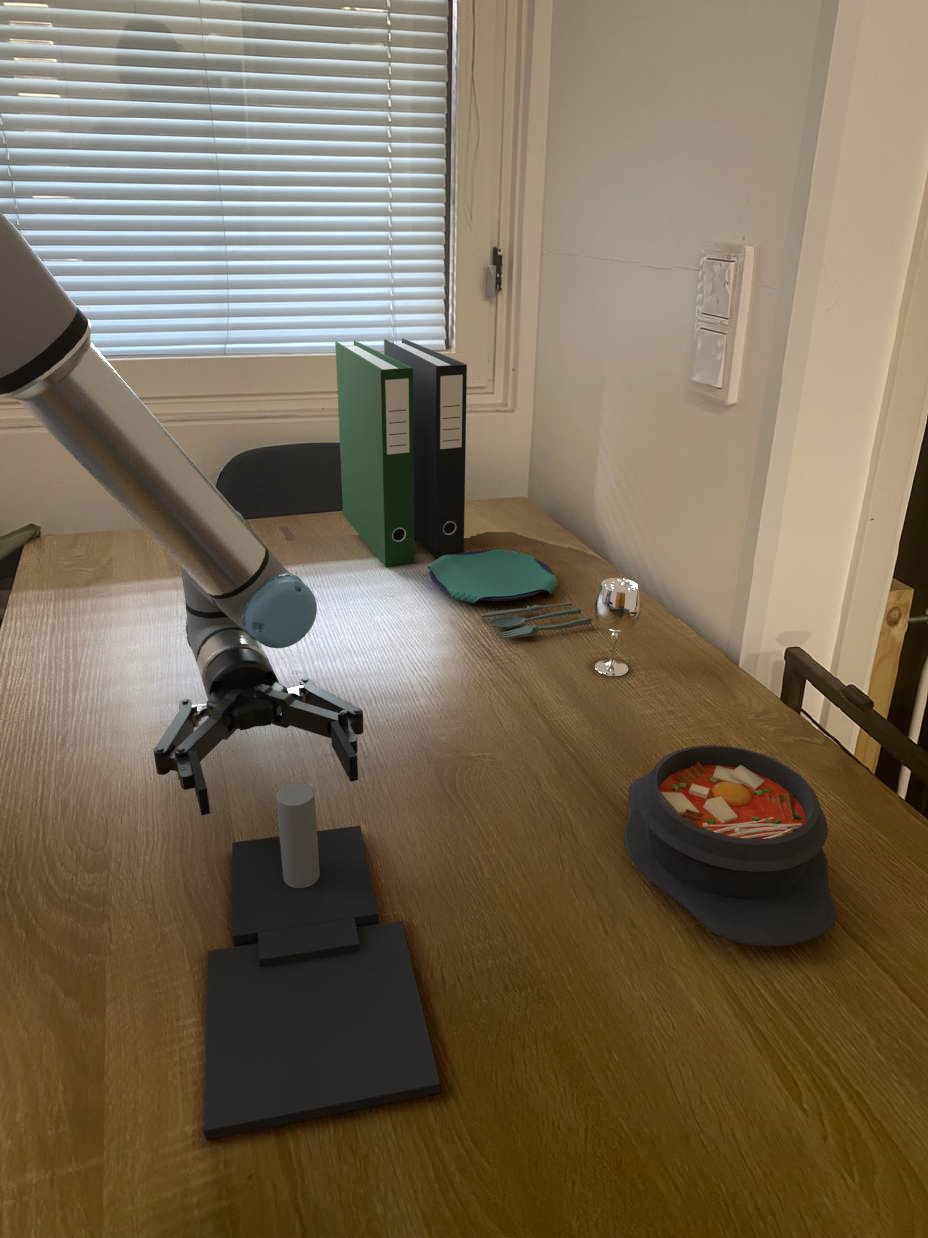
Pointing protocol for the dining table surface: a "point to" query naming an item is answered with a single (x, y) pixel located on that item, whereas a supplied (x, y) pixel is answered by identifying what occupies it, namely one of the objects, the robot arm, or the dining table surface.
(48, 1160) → the dining table surface
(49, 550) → the dining table surface
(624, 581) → the wineglass
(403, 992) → the black pad
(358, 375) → the binder
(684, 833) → the casserole
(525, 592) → the cutlery set
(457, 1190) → the dining table surface
